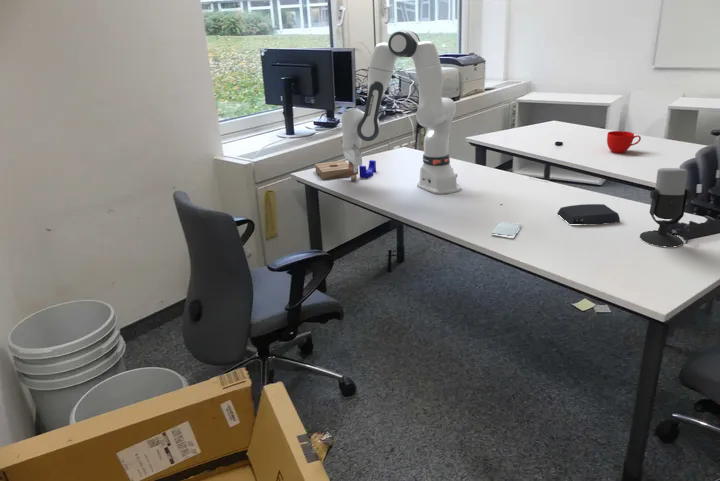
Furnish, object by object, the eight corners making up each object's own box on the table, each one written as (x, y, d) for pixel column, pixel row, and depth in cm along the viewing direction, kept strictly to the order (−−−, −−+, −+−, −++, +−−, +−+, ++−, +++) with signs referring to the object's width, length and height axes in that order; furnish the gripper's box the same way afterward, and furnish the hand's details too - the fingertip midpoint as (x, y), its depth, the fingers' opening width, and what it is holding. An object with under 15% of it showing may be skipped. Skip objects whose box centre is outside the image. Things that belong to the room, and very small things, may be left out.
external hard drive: (555, 215, 200) (556, 205, 199) (603, 211, 201) (604, 201, 199) (570, 227, 188) (571, 217, 187) (621, 224, 189) (622, 213, 188)
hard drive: (514, 236, 180) (522, 223, 190) (491, 233, 183) (500, 220, 193) (514, 240, 180) (521, 227, 190) (491, 237, 184) (499, 224, 194)
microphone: (673, 232, 179) (689, 163, 169) (689, 248, 167) (707, 175, 157) (634, 231, 181) (647, 163, 171) (647, 247, 169) (662, 175, 159)
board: (353, 175, 259) (352, 167, 258) (322, 179, 255) (322, 171, 254) (344, 167, 273) (344, 160, 272) (315, 171, 269) (315, 164, 268)
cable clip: (367, 178, 254) (367, 167, 252) (359, 177, 256) (359, 166, 254) (378, 172, 264) (378, 160, 261) (370, 171, 266) (370, 160, 263)
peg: (359, 181, 250) (358, 164, 247) (350, 182, 249) (349, 165, 246) (356, 178, 255) (356, 162, 251) (348, 179, 253) (347, 163, 250)
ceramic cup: (642, 154, 270) (645, 136, 266) (608, 154, 273) (611, 136, 269) (634, 148, 282) (637, 130, 278) (602, 148, 285) (604, 131, 281)
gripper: (364, 146, 236) (365, 175, 242) (352, 137, 254) (353, 164, 259) (351, 148, 234) (353, 176, 240) (340, 139, 252) (341, 166, 258)
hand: (353, 170), depth 250 cm, fingers closed on peg, 5 cm apart
